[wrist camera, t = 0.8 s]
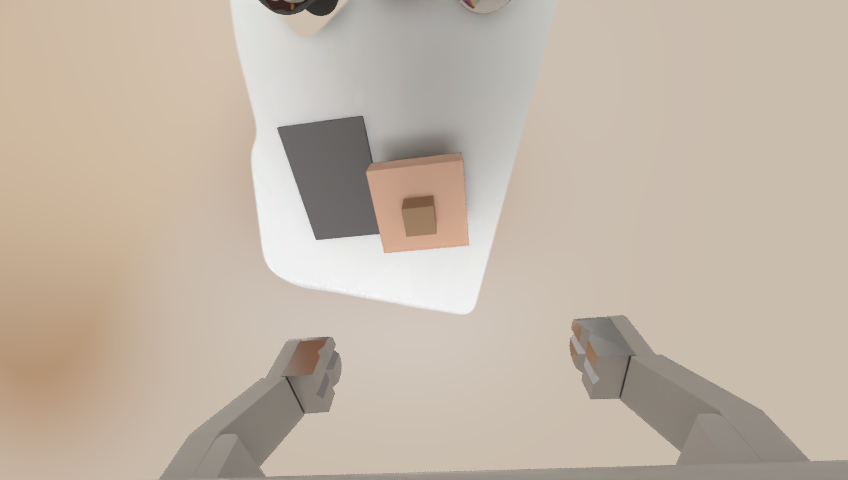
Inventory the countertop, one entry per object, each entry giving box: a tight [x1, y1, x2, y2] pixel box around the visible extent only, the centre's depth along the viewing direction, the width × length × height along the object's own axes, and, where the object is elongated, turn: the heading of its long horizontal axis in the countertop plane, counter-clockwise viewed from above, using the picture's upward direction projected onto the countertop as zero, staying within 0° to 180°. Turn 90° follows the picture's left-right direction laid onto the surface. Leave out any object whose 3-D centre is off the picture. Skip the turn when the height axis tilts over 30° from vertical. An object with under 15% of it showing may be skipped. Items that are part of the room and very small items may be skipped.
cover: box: [366, 152, 469, 253], centre depth 38 cm, size 11×11×6 cm
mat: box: [277, 116, 380, 240], centre depth 48 cm, size 18×12×1 cm, turn 7°
